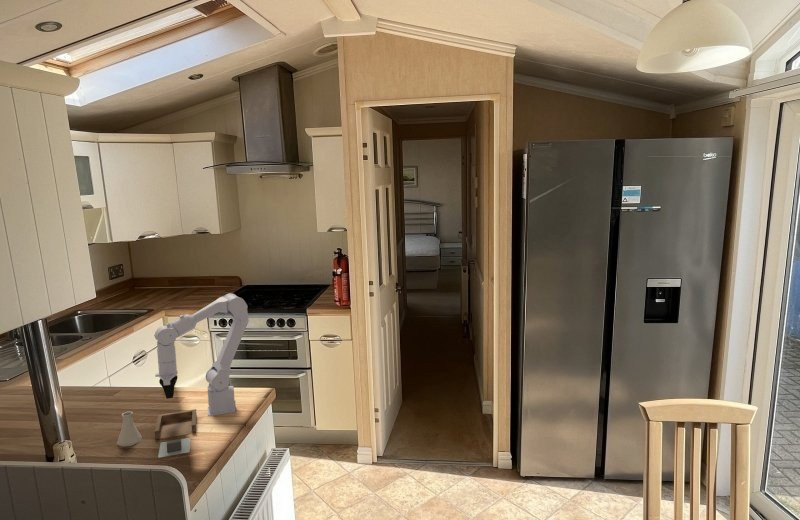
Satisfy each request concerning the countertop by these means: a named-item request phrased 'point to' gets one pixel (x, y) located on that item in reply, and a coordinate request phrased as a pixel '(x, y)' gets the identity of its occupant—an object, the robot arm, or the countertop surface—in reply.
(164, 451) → the cover plate
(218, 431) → the countertop surface
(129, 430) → the flask
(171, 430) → the box
